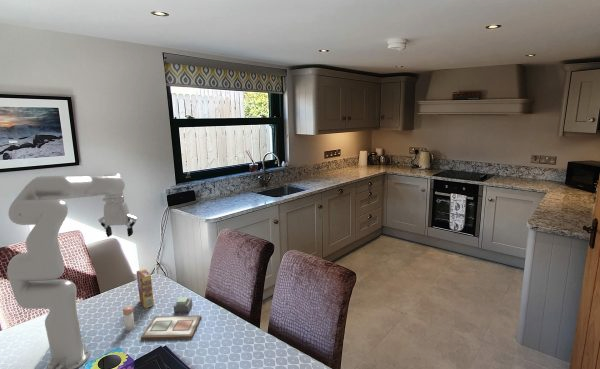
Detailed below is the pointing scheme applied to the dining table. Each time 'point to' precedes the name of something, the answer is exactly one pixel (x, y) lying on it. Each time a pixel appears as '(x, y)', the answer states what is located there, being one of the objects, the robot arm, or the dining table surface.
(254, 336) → the dining table surface
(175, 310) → the button housing
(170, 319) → the picture board
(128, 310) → the cylinder
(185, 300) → the button
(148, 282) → the candy box
